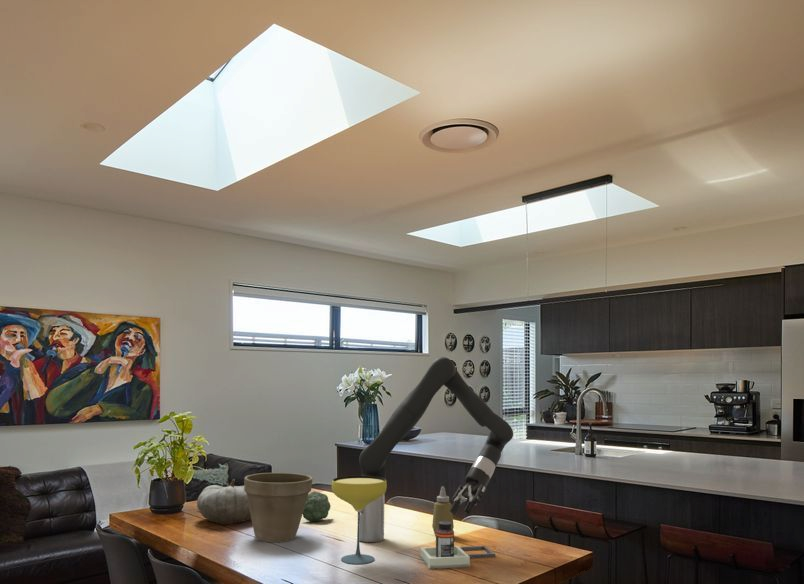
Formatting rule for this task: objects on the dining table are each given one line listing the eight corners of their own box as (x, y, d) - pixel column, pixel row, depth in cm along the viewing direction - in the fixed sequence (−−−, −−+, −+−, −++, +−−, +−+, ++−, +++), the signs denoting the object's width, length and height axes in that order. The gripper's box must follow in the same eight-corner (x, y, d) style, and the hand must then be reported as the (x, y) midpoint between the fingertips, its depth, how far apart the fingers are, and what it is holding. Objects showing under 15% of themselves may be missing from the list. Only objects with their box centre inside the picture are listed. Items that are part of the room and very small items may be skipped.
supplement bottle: (437, 556, 202) (437, 519, 203) (455, 557, 200) (455, 521, 202) (434, 561, 196) (434, 523, 197) (452, 562, 194) (452, 525, 196)
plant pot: (323, 534, 232) (325, 474, 236) (284, 549, 210) (287, 484, 213) (269, 527, 243) (271, 470, 246) (227, 541, 221) (230, 478, 224)
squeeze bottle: (452, 540, 226) (452, 489, 228) (430, 538, 227) (430, 488, 230) (455, 534, 233) (454, 485, 236) (433, 533, 235) (433, 484, 238)
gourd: (225, 524, 234) (226, 477, 240) (181, 528, 246) (183, 482, 252) (272, 520, 254) (271, 476, 260) (229, 523, 267) (230, 481, 272)
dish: (429, 568, 190) (429, 558, 191) (420, 557, 203) (420, 547, 203) (469, 566, 193) (469, 556, 193) (458, 555, 205) (458, 546, 206)
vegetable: (326, 509, 267) (339, 498, 257) (311, 534, 258) (325, 524, 248) (303, 493, 267) (316, 481, 256) (288, 518, 257) (300, 507, 247)
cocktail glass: (325, 567, 191) (327, 483, 195) (334, 551, 209) (336, 475, 213) (383, 568, 190) (384, 484, 194) (387, 552, 208) (388, 476, 212)
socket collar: (465, 558, 202) (465, 555, 202) (456, 550, 212) (456, 546, 212) (495, 557, 204) (495, 553, 204) (485, 548, 214) (485, 545, 214)
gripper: (461, 467, 220) (439, 506, 212) (485, 465, 208) (463, 506, 200) (476, 480, 222) (455, 519, 213) (500, 479, 210) (479, 520, 201)
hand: (459, 513), depth 206 cm, fingers open, 8 cm apart
